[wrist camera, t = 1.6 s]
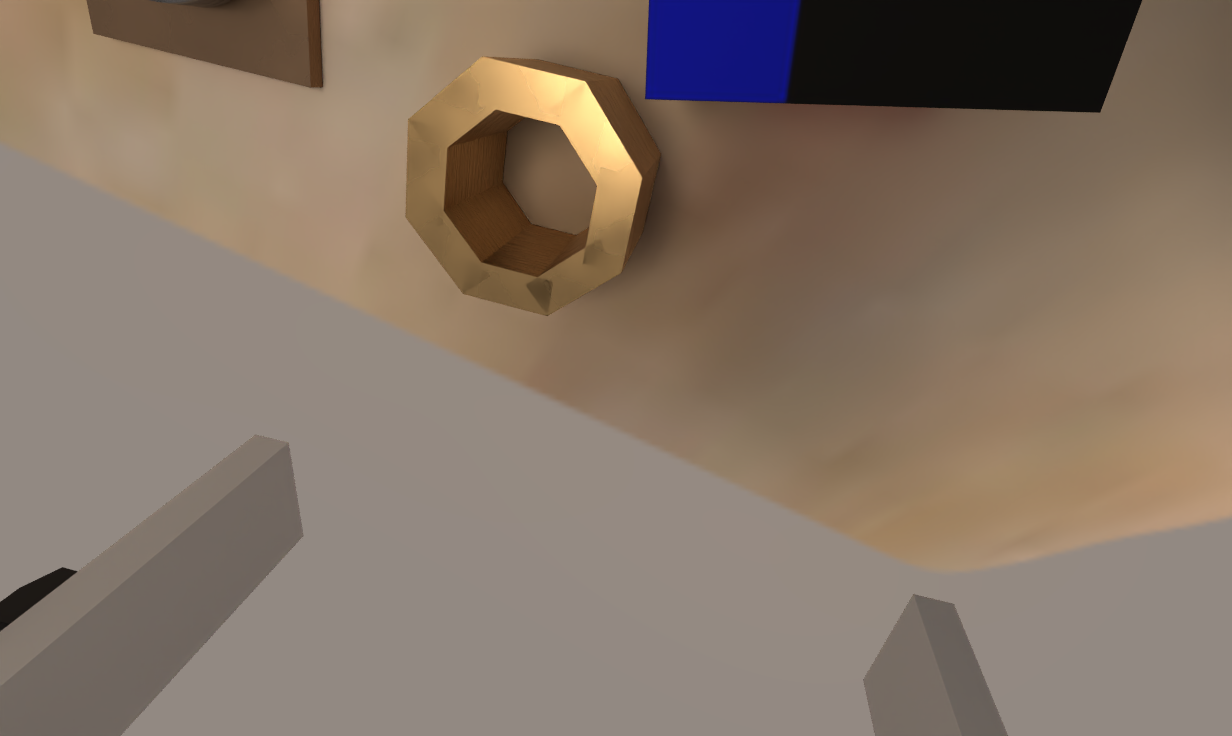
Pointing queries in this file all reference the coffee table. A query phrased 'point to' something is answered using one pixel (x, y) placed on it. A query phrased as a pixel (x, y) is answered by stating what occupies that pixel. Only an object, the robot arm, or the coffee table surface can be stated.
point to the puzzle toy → (889, 52)
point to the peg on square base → (223, 32)
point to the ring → (485, 210)
